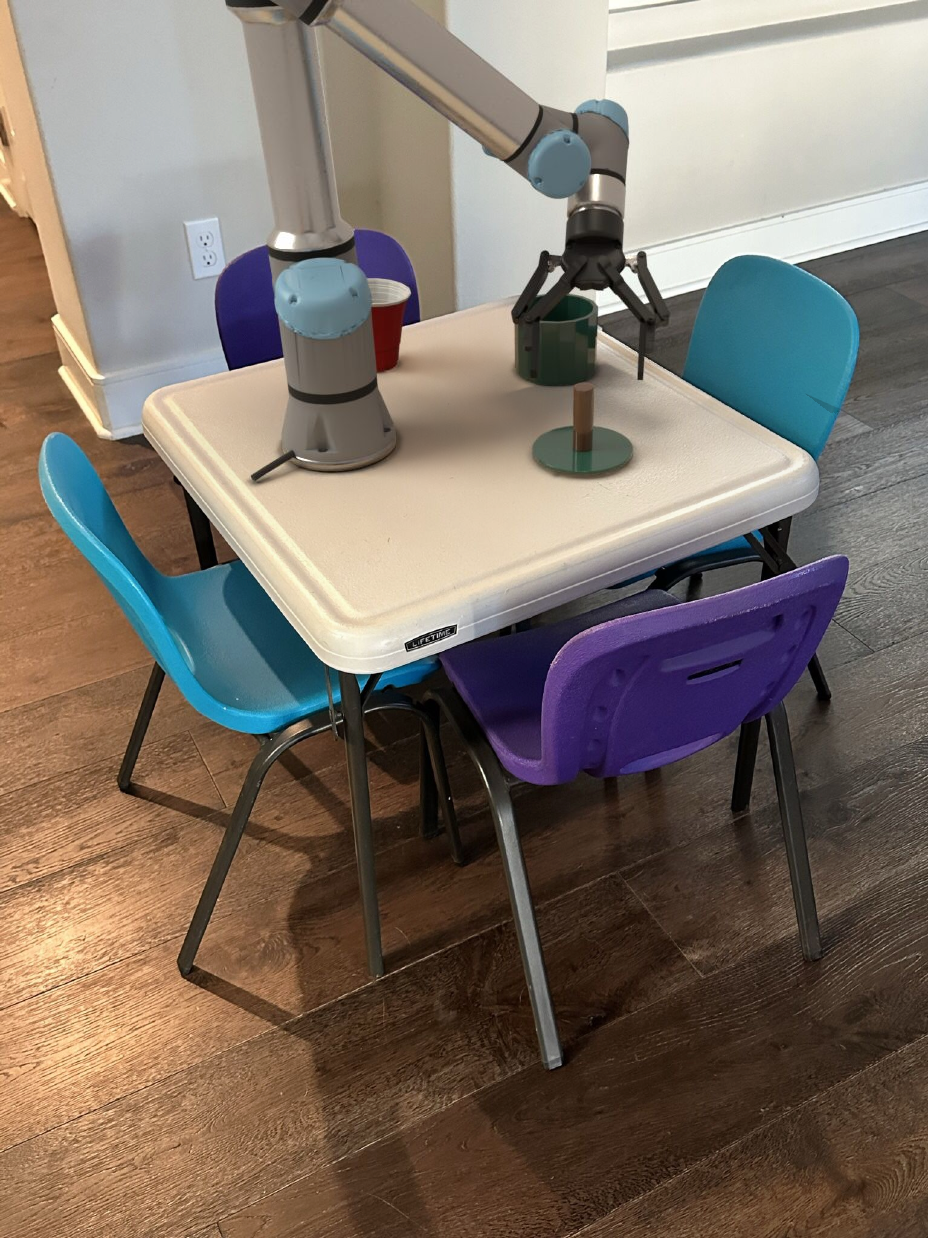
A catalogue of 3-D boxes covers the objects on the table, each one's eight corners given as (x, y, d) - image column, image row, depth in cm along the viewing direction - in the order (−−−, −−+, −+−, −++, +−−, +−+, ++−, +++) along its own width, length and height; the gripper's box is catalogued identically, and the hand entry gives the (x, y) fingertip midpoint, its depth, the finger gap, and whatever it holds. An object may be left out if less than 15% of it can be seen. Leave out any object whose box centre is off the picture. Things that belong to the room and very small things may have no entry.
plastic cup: (413, 378, 168) (408, 300, 161) (341, 380, 169) (333, 302, 162) (417, 349, 177) (412, 274, 170) (349, 351, 178) (341, 276, 171)
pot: (547, 392, 163) (548, 329, 157) (499, 366, 171) (498, 305, 165) (612, 371, 168) (614, 309, 162) (562, 346, 176) (563, 287, 170)
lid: (573, 489, 140) (575, 418, 134) (512, 450, 148) (511, 382, 143) (653, 459, 145) (658, 390, 140) (589, 423, 154) (591, 357, 148)
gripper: (690, 234, 149) (683, 387, 146) (503, 234, 153) (492, 383, 149) (694, 205, 142) (687, 365, 139) (497, 205, 145) (486, 362, 142)
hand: (586, 375), depth 144 cm, fingers open, 13 cm apart
